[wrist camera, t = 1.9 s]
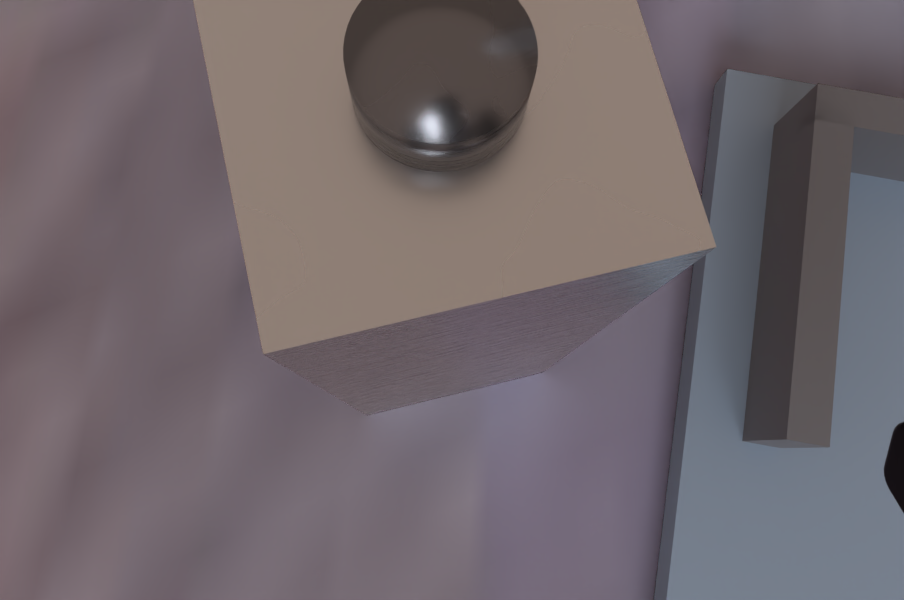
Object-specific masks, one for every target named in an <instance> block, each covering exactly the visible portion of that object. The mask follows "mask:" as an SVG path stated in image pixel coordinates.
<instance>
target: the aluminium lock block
mask: <svg viewBox="0 0 904 600" xmlns="http://www.w3.org/2000/svg"><path fill="white" fill-rule="evenodd" d="M193 2H194V7H195V12H196V17H197V23H198V28H199V33H200V38H201V43H202V48H203V53H204V58H205V63H206V68H207V73H208V78H209V83H210V88H211V93H212V98H213V103H214V108H215V113H216V118H217V123H218V128H219V133H220V139H221V144H222V149H223V154H224V159H225V164H226V169H227V174H228V179H229V184H230V189H231V194H232V199H233V204H234V209H235V214H236V219H237V224H238V229H239V234H240V239H241V244H242V249H243V255H244V260H245V265H246V270H247V275H248V280H249V285H250V290H251V295H252V300H253V305H254V310H255V315H256V320H257V325H258V330H259V335H260V340H261V345H262V350H263V354H264V355H266V356H267V357H269V358H271V359H272V360H274V361H276V362H277V363H279V364H281V365H283V366H284V367H286V368H288V369H289V370H291V371H293V372H294V373H296V374H298V375H299V376H301V377H303V378H304V379H306V380H308V381H309V382H311V383H313V384H315V385H316V386H318V387H320V388H321V389H323V390H325V391H326V392H328V393H330V394H331V395H333V396H335V397H336V398H338V399H340V400H341V401H343V402H345V403H347V404H348V405H350V406H352V407H353V408H355V409H357V410H358V411H360V412H362V413H363V414H365V415H371V414H375V413H379V412H383V411H387V410H391V409H395V408H399V407H403V406H407V405H411V404H415V403H420V402H424V401H428V400H432V399H436V398H440V397H444V396H448V395H452V394H456V393H460V392H464V391H469V390H473V389H477V388H481V387H485V386H489V385H493V384H497V383H501V382H505V381H509V380H513V379H518V378H522V377H526V376H530V375H534V374H538V373H542V372H544V371H545V370H547V369H548V368H549V367H551V366H552V365H554V364H555V363H556V362H558V361H559V360H561V359H562V358H563V357H565V356H566V355H567V354H569V353H570V352H572V351H573V350H574V349H576V348H577V347H579V346H580V345H581V344H583V343H584V342H586V341H587V340H588V339H590V338H591V337H592V336H594V335H595V334H597V333H598V332H599V331H601V330H602V329H604V328H605V327H606V326H608V325H609V324H610V323H612V322H613V321H615V320H616V319H617V318H619V317H620V316H622V315H623V314H624V313H626V312H627V311H628V310H630V309H631V308H633V307H634V306H635V305H637V304H638V303H640V302H641V301H642V300H644V299H645V298H647V297H648V296H649V295H651V294H652V293H653V292H655V291H656V290H658V289H659V288H660V287H662V286H663V285H665V284H666V283H667V282H669V281H670V280H671V279H673V278H674V277H676V276H677V275H678V274H680V273H681V272H683V271H684V270H685V269H687V268H688V267H690V266H691V265H692V264H694V263H695V262H696V261H698V260H699V259H701V258H702V257H703V256H705V255H706V254H708V253H709V252H710V251H712V250H713V249H714V248H716V244H715V241H714V238H713V234H712V231H711V228H710V225H709V222H708V219H707V216H706V213H705V210H704V207H703V204H702V200H701V197H700V194H699V191H698V188H697V185H696V182H695V179H694V176H693V173H692V170H691V166H690V163H689V160H688V157H687V154H686V151H685V148H684V145H683V142H682V139H681V136H680V132H679V129H678V126H677V123H676V120H675V117H674V114H673V111H672V108H671V105H670V102H669V98H668V95H667V92H666V89H665V86H664V83H663V80H662V77H661V74H660V71H659V68H658V64H657V61H656V58H655V55H654V52H653V49H652V46H651V43H650V40H649V37H648V34H647V30H646V27H645V24H644V21H643V18H642V15H641V12H640V9H639V6H638V3H637V0H193Z"/></svg>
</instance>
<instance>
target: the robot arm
mask: <svg viewBox="0 0 904 600" xmlns="http://www.w3.org/2000/svg"><path fill="white" fill-rule="evenodd" d="M884 477H885V481H886V484H887V486H888V488H889V490H890V492H891V493H892V495H893V497H894V498H895V500H896V502H897V503H898V505H899V507H900V508H901V510H902V512H903V513H904V422H901V423H899V424H898V425H897V426H896V427H895V428H894V430H893V433H892V437H891V441H890V445H889V449H888V452H887V456H886V460H885V464H884Z"/></svg>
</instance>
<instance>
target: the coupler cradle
mask: <svg viewBox="0 0 904 600" xmlns="http://www.w3.org/2000/svg"><path fill="white" fill-rule="evenodd" d="M701 200H702V204H703V207H704V210H705V213H706V216H707V219H708V222H709V225H710V228H711V231H712V234H713V238H714V241H715V244H716V248H714V249H713V250H712V251H710V252H709V253H708V254H706V255H705V256H703V257H702V258H701V259H699V260H698V261H696V262H695V263H694V265H693V273H692V282H691V290H690V299H689V307H688V315H687V324H686V332H685V341H684V349H683V358H682V366H681V375H680V383H679V392H678V400H677V409H676V417H675V425H674V434H673V442H672V451H671V459H670V468H669V476H668V485H667V493H666V502H665V510H664V518H663V527H662V535H661V544H660V552H659V561H658V569H657V578H656V586H655V595H654V600H904V513H903V512H902V510H901V508H900V507H899V505H898V503H897V502H896V500H895V498H894V497H893V495H892V493H891V492H890V490H889V488H888V486H887V484H886V481H885V477H884V464H885V460H886V456H887V452H888V449H889V445H890V441H891V437H892V433H893V430H894V428H895V427H896V426H897V425H898V424H899V423H901V422H904V99H903V98H897V97H892V96H886V95H881V94H875V93H869V92H864V91H858V90H853V89H847V88H841V87H836V86H830V85H825V84H819V83H818V84H817V85H816V84H810V83H805V82H799V81H793V80H788V79H782V78H777V77H771V76H765V75H760V74H754V73H749V72H743V71H737V70H732V69H727V70H726V71H725V73H724V74H723V75H722V76H721V78H720V79H719V80H718V82H717V83H716V84H715V87H714V96H713V104H712V112H711V121H710V129H709V138H708V146H707V155H706V163H705V172H704V180H703V189H702V197H701Z"/></svg>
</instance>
